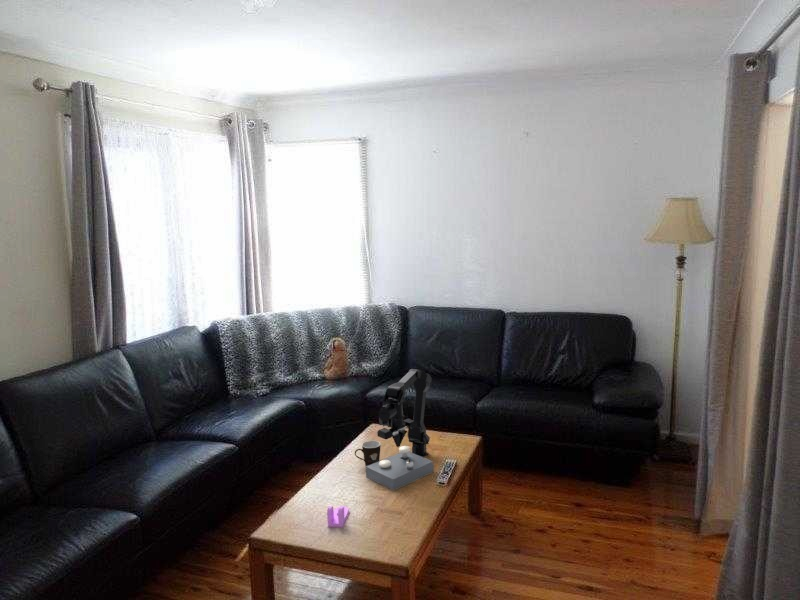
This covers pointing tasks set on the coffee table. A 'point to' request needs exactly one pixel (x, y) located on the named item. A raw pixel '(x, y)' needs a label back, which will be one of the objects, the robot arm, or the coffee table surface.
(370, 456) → the coffee mug
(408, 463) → the potentiometer
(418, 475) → the console block
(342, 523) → the bracket
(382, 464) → the knob
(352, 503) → the coffee table surface
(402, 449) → the knob
